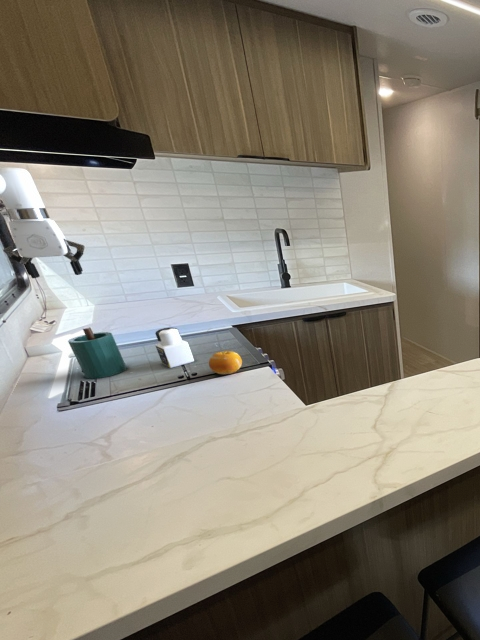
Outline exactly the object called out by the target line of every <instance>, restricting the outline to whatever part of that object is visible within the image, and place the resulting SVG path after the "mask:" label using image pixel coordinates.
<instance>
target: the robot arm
mask: <svg viewBox="0 0 480 640" xmlns="http://www.w3.org/2000/svg"><path fill="white" fill-rule="evenodd" d="M0 198H1V199H2V202H3V204H4V206H5V208H6V209H5V211H2V212H1V214H2V216H3V217H5V218H10V220H11V221H8V225H9V229H10V233H11V236H12V239H13V242H14V243H13V244H11V245H9V246H6V247H5V248H4V249H3V250H2V251H3V253H5V254H6V255H7V256H8V257H10V258H11V259H12V260H13V261H16V262H18V263H19V264H20V265H22V266H24V269H25V271H26V273H27V274H28V276H30V278H31V279H37V278H39V277H40V276H41V275H40V273H39V271H38V269H37V267H36V265H35V263H33V262H32V260H33V259H34V258H49V257H51V258H52V257H65V258H66V259H68V260H70V262H69V265H70V267H71V268H72V271H73V273H74V275H76V276H80V275H82V274H83V268H82V265H81V263H80V260H81V258H82V256H83V255H84V252H85V245H84V244H81V243H79V242H78V243H77V242H74V241H71V240H68V239H67V238H66V237H65V234H64V233H63V231H62V230H61V228H60V227H59V225H58V224H57V222H56V221H55V220H54V219H51V217H50V215H49V213H48V210H47V208H46V206H45V204H44V201H43V199H42V197H41V195H40V193H39V190H38V188H37V186H36V184H35V181H34V179H33V177H32V175H31V173H30V171H28V170H27V168H22V167H18V166H17V167H16V166H0ZM72 248H75V249H76V252H75V253H73V252H72ZM16 250H17V252H18V253H19V255H18V254H17V253H16V252H15V251H16Z"/></svg>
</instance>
